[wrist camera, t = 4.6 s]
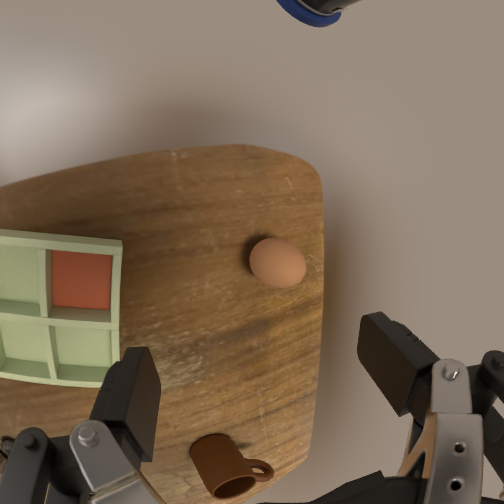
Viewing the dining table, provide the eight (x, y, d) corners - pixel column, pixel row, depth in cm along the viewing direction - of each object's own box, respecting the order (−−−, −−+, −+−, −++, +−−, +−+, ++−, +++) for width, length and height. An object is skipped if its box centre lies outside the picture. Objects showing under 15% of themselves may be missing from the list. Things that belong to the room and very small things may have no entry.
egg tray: (-11, 227, 18) (-25, 233, 15) (121, 240, 26) (122, 247, 23) (3, 359, 21) (-4, 376, 18) (118, 370, 28) (121, 388, 25)
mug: (259, 429, 41) (288, 465, 33) (245, 455, 42) (270, 490, 34) (194, 433, 35) (219, 478, 27) (184, 460, 36) (205, 503, 28)
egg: (240, 233, 32) (278, 248, 25) (279, 232, 34) (322, 245, 27) (238, 277, 33) (274, 302, 26) (276, 273, 35) (316, 294, 28)
